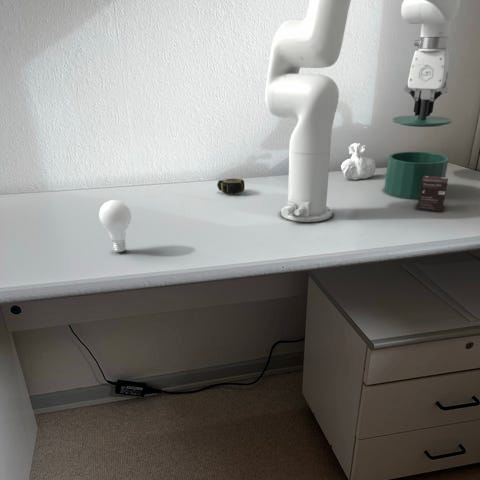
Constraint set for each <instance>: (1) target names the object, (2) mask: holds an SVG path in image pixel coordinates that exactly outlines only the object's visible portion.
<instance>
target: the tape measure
mask: <svg viewBox="0 0 480 480" xmlns="http://www.w3.org/2000/svg"><path fill="white" fill-rule="evenodd" d="M216 185H217V186H216V187H217V188H218V191H220V192H222V193H224V194H230V195H234V196H235V195H239V194H240V193H241V194H242V193H243V192H245V180H243V179H242V178H227V179H219V180H218V181H217V183H216Z"/></svg>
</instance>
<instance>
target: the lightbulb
mask: <svg viewBox="0 0 480 480" xmlns="http://www.w3.org/2000/svg"><path fill="white" fill-rule="evenodd" d="M98 219H99V221H100V223H101V225H102V226H103V228H104V229H105V230H106V231H107V233H108V235H109V237H110V239H111V242H112V248H113V251H114V252H117V253H120V254H121V253H123V252H124V251H126V250H127V244H126V236H127V230H128V228H129V226H130V224H131V221H132V212H131V210H130V208H129V206H128V205H127V204H126V203H125V202H123V201H122V200H119V199H110V200H107V201H105V202H104V203H103V204H102V205H101V206H100V208H99V211H98Z"/></svg>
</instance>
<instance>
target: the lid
mask: <svg viewBox="0 0 480 480" xmlns="http://www.w3.org/2000/svg"><path fill="white" fill-rule="evenodd" d="M429 99H430V98H421V100H420V107H419V114H418V115H417V116H415V114H414V115H413V114H412V115H401V116H394V117H393V118H392V122H393V123H395V124H399V125H402V126H406V127H416V128H433V127H442V126H445V125H450V124H452V122H453V120H452V119H451V118H449V117H445V116H438V115H437V116H436V115H429V116H425V114H426V108H427V102H428V101H429Z"/></svg>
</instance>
